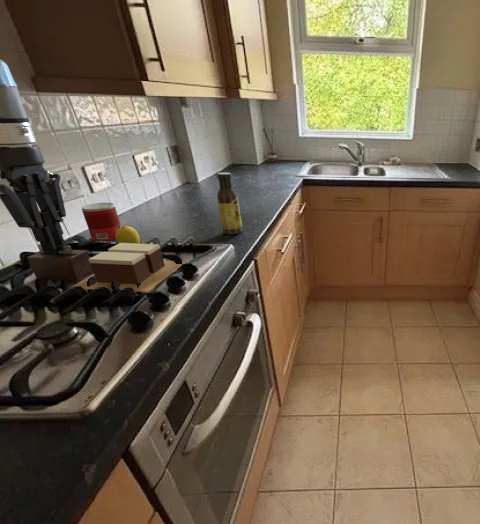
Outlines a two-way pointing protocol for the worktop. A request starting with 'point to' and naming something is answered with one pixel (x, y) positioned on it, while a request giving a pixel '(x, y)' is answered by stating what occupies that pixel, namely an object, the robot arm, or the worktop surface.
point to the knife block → (61, 266)
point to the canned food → (102, 221)
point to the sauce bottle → (228, 205)
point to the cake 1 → (120, 267)
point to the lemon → (127, 235)
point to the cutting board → (145, 285)
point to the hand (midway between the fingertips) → (56, 251)
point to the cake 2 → (150, 251)
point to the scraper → (54, 236)
